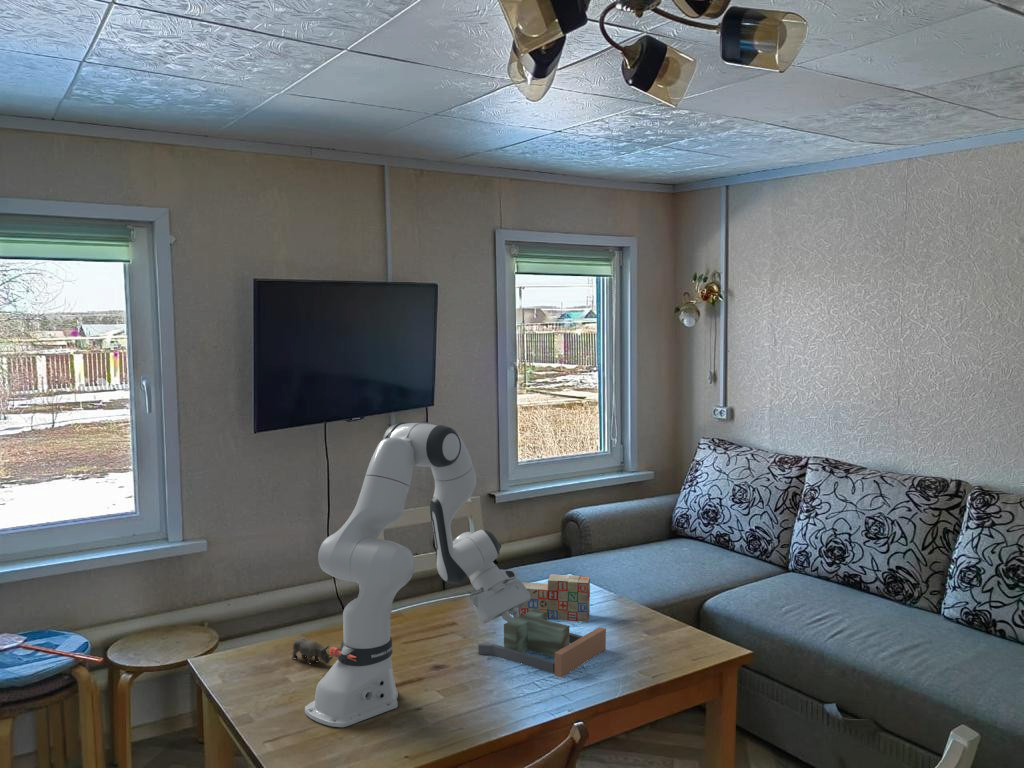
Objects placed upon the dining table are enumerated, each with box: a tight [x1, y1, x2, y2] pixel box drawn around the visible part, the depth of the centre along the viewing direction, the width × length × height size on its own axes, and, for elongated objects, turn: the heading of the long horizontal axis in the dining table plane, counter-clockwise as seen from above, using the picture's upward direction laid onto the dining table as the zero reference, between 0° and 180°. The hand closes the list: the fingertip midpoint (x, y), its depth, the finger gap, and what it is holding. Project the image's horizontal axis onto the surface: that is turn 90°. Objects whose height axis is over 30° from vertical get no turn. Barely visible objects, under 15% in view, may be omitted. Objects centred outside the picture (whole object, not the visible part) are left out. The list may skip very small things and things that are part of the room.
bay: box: [477, 626, 607, 678], centre depth 225 cm, size 24×27×6 cm
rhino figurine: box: [291, 636, 334, 665], centre depth 218 cm, size 4×14×6 cm, turn 58°
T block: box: [503, 609, 570, 659], centre depth 226 cm, size 15×15×8 cm
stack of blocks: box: [518, 573, 591, 623], centre depth 252 cm, size 21×6×12 cm, turn 79°
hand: (518, 625), depth 230 cm, fingers closed, pressing on T block
